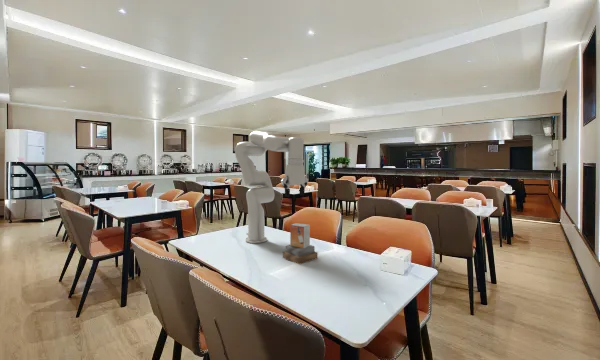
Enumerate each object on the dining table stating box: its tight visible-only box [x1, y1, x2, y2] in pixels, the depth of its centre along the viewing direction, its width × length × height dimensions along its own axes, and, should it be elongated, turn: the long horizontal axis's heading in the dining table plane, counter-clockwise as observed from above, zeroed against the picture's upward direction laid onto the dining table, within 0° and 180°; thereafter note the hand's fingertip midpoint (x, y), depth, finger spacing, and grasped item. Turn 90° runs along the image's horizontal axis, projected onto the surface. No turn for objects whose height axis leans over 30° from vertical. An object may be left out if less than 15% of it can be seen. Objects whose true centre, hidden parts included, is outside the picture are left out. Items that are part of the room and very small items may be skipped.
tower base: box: [282, 244, 318, 265], centre depth 143 cm, size 12×12×6 cm
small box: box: [289, 222, 311, 248], centre depth 143 cm, size 8×6×10 cm
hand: (294, 195), depth 149 cm, fingers open, 9 cm apart
